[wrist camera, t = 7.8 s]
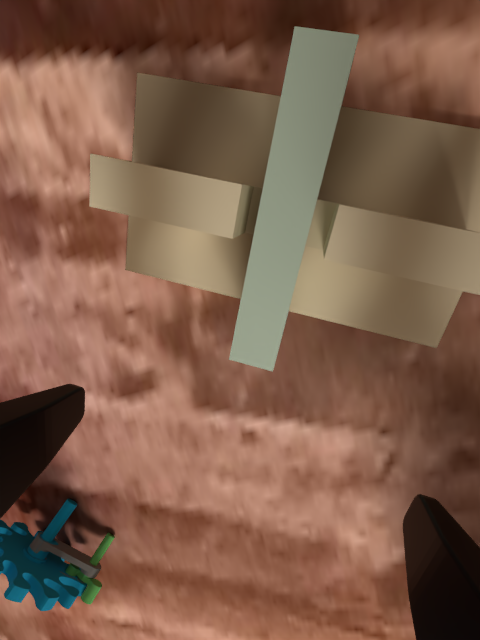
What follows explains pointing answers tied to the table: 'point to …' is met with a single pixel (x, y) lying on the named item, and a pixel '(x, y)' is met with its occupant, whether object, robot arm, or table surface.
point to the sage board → (291, 188)
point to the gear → (48, 564)
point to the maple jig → (329, 215)
